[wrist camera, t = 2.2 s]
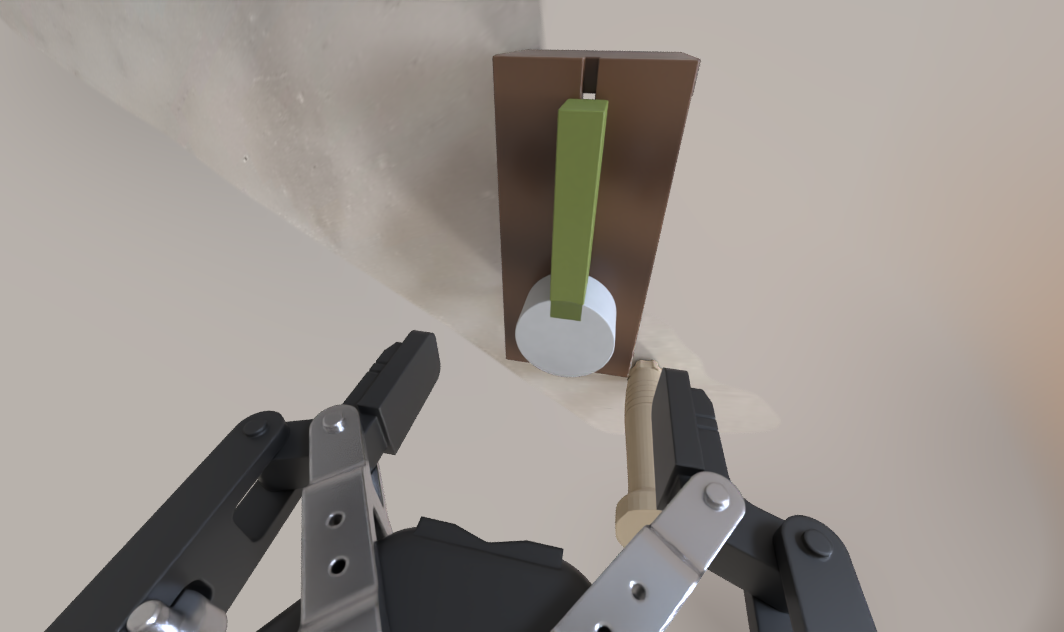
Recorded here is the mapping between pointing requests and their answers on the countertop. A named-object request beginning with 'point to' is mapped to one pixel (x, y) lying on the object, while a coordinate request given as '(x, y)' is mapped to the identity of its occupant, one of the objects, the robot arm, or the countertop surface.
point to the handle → (638, 453)
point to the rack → (625, 179)
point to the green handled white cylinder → (572, 257)
